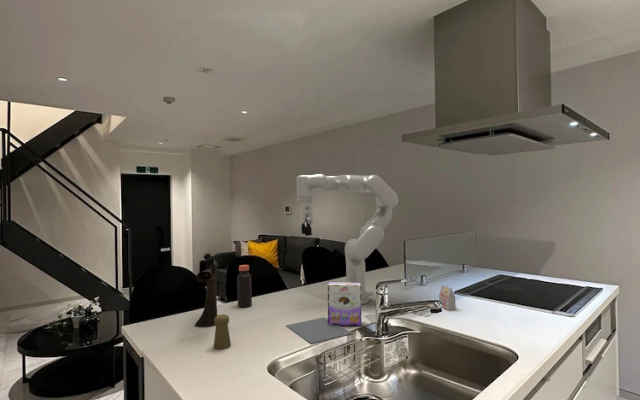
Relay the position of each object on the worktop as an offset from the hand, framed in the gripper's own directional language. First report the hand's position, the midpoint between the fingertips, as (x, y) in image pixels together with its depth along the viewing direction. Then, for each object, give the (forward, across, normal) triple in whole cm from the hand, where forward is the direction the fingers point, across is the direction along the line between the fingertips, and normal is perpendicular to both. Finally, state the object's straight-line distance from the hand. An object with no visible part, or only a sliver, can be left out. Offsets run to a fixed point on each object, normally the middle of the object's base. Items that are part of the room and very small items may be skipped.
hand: (306, 234), depth 174 cm
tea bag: (+36, -25, -60) cm, 75 cm away
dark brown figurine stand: (+34, -15, +48) cm, 60 cm away
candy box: (+35, -31, -9) cm, 48 cm away
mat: (+35, -35, +3) cm, 49 cm away
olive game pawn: (+34, -41, +40) cm, 66 cm away
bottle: (+34, +8, +31) cm, 47 cm away
